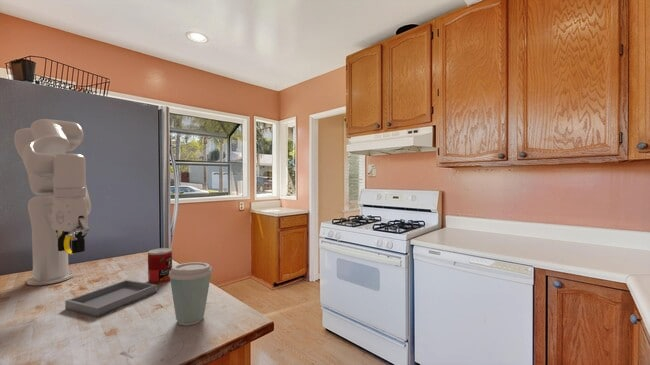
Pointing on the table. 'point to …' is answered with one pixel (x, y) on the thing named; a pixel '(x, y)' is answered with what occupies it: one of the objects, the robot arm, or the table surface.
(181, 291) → the disposable coffee cup
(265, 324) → the table surface
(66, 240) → the watch
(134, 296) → the tray
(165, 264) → the canned food
